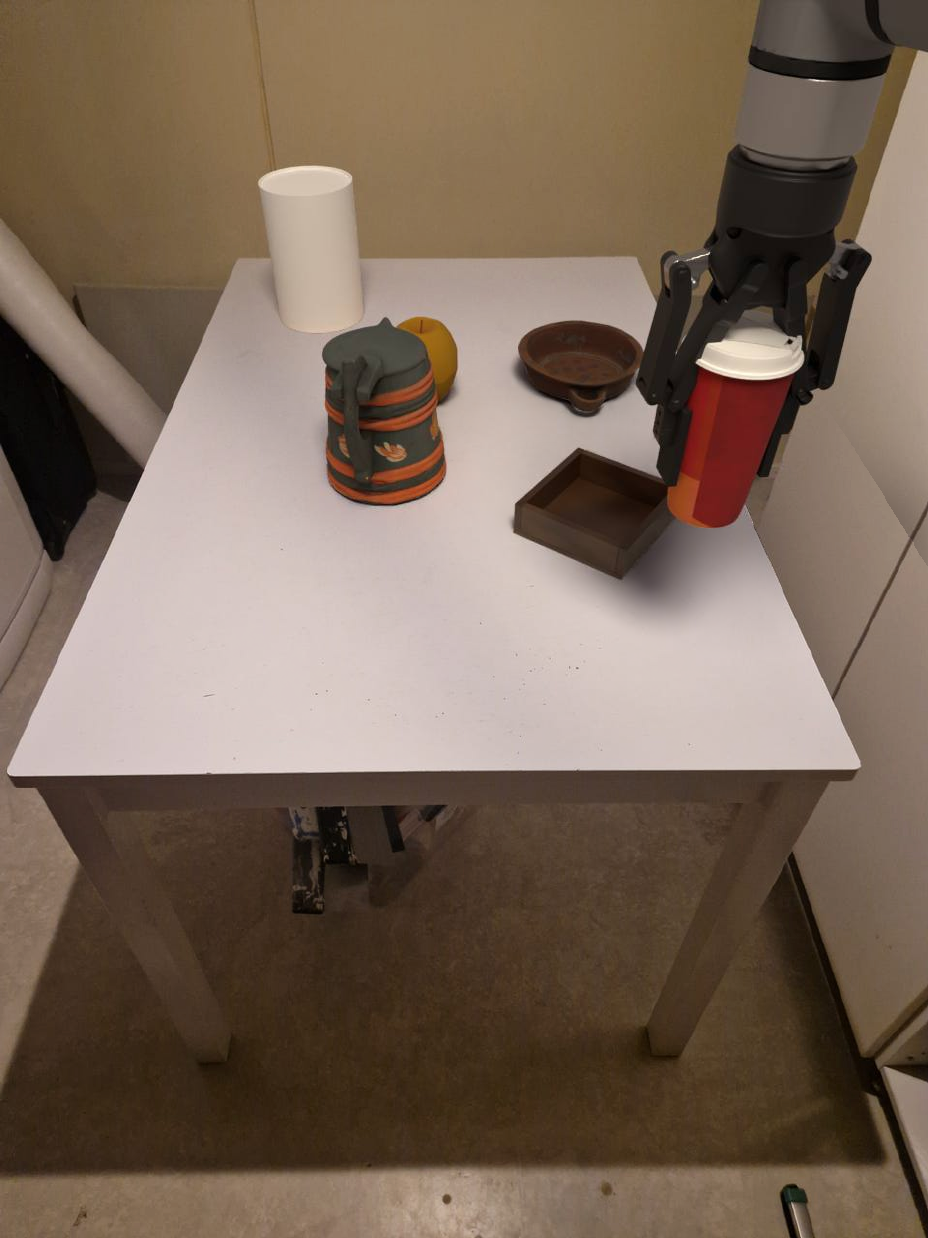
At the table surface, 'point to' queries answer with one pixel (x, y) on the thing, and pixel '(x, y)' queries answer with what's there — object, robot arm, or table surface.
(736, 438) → the coffee cup
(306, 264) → the canister
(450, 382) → the apple
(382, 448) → the beer stein
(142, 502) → the table surface
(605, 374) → the dish
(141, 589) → the table surface
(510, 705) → the table surface
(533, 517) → the square wooden tray
